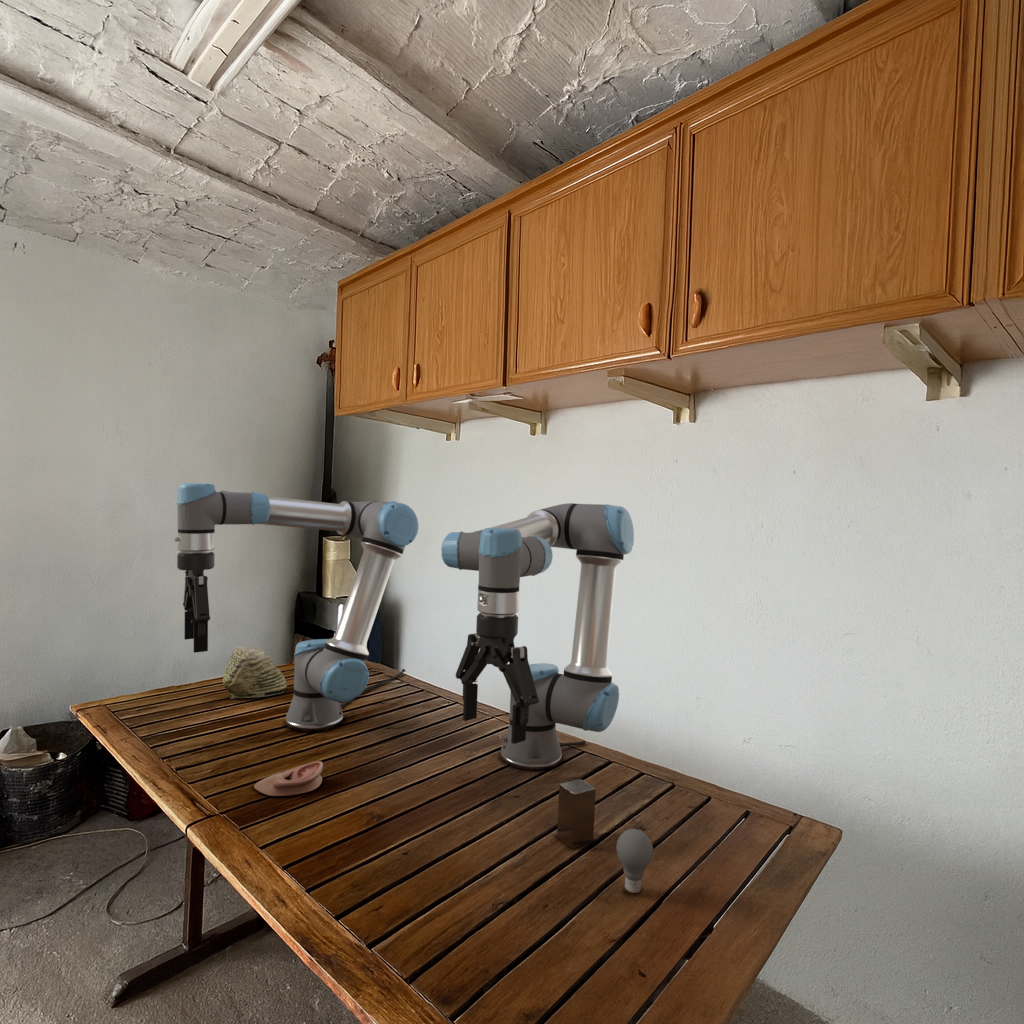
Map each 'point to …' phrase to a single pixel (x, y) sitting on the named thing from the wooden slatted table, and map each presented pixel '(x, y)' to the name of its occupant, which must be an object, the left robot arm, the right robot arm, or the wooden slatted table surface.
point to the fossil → (252, 674)
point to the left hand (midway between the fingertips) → (195, 645)
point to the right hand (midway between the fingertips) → (493, 730)
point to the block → (576, 813)
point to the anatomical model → (292, 781)
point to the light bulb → (634, 857)
